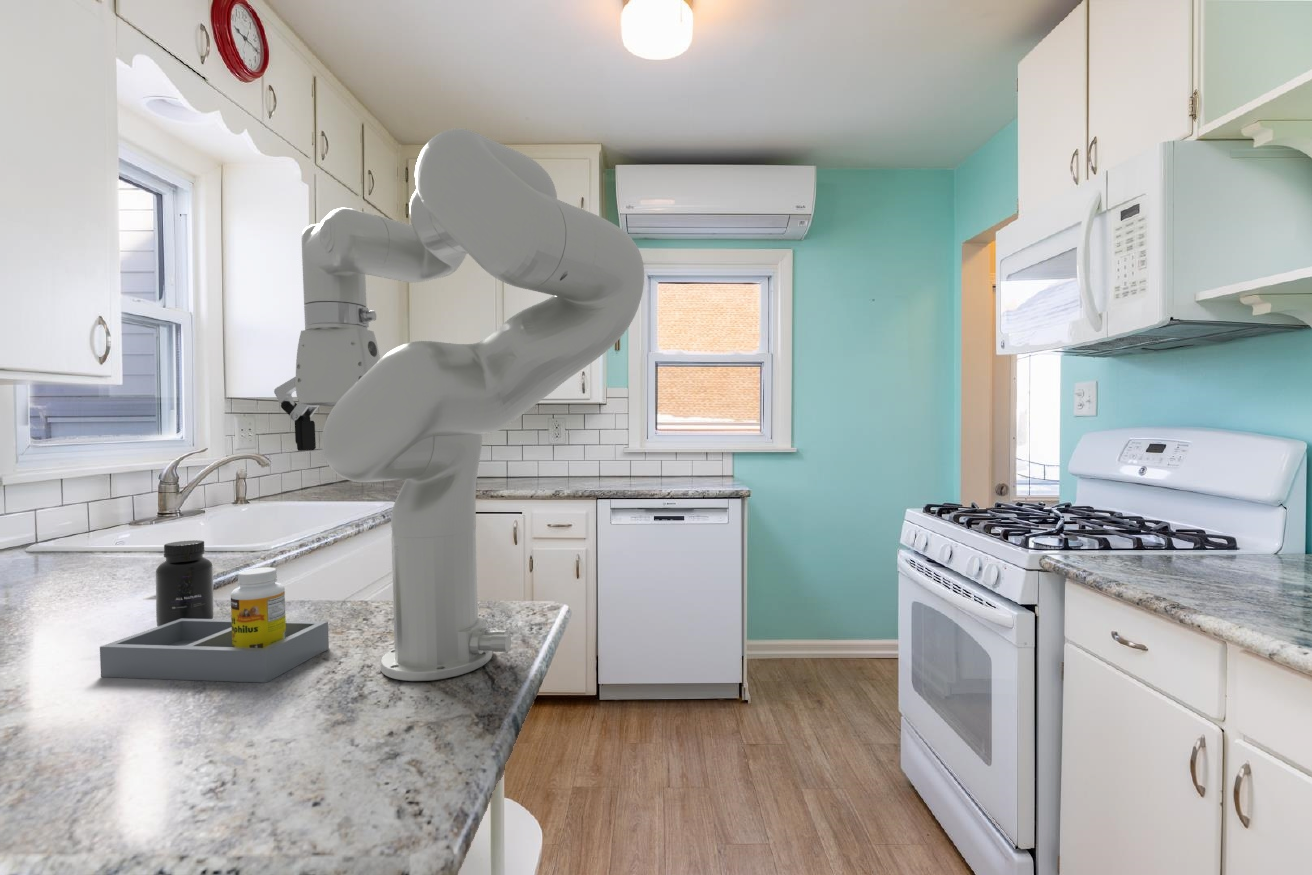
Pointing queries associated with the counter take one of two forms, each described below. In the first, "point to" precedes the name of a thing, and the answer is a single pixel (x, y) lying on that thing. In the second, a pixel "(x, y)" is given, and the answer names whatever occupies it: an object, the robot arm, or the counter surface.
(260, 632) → the supplement bottle
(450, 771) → the counter surface
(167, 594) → the supplement bottle
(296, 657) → the divided tray
